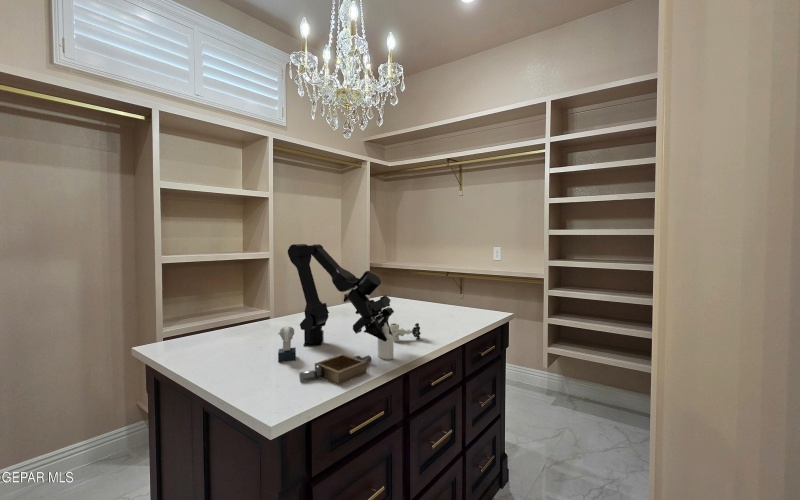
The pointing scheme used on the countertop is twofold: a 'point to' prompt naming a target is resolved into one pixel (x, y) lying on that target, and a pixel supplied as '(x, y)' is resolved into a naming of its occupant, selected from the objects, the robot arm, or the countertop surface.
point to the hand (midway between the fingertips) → (389, 339)
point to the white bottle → (386, 345)
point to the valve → (403, 331)
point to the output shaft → (311, 374)
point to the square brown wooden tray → (342, 368)
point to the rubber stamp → (286, 345)
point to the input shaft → (365, 358)
